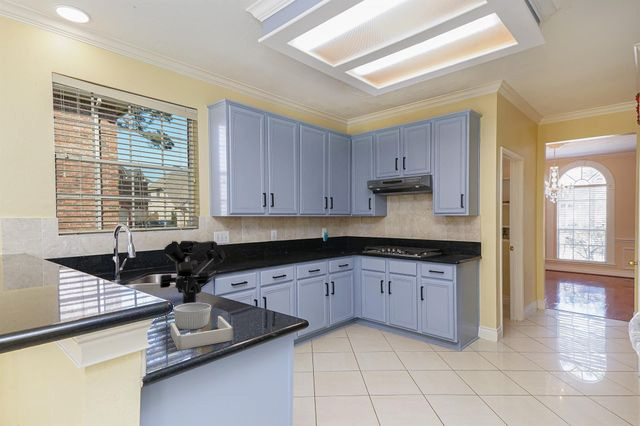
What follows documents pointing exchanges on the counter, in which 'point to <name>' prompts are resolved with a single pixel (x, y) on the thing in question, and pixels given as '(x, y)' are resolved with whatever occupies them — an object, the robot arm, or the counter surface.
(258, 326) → the counter surface
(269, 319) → the counter surface
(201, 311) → the ramekin
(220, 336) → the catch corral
